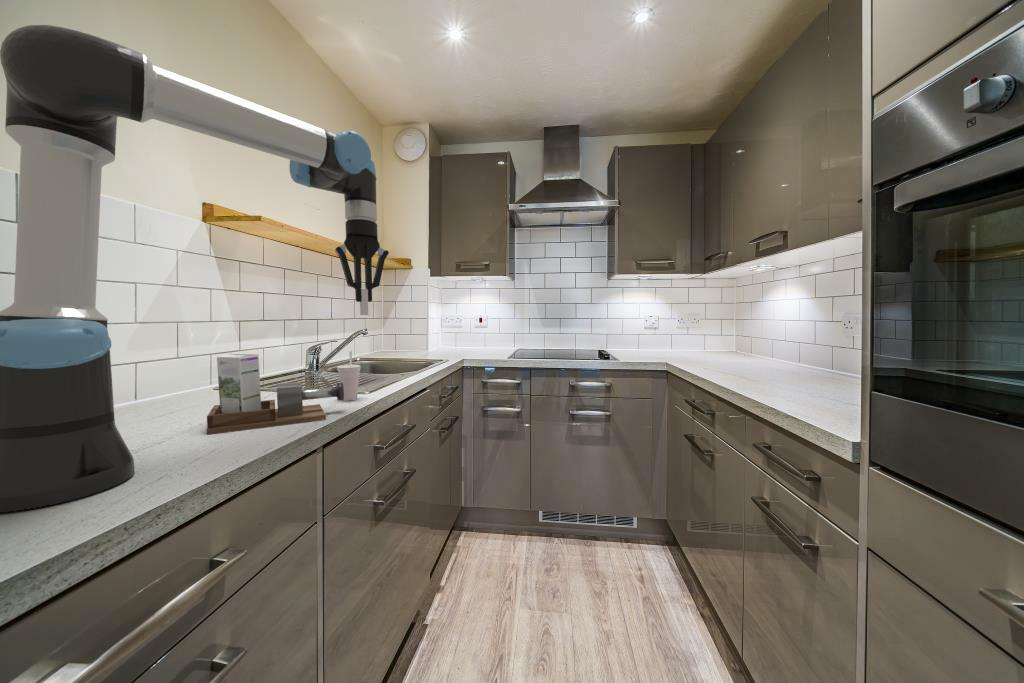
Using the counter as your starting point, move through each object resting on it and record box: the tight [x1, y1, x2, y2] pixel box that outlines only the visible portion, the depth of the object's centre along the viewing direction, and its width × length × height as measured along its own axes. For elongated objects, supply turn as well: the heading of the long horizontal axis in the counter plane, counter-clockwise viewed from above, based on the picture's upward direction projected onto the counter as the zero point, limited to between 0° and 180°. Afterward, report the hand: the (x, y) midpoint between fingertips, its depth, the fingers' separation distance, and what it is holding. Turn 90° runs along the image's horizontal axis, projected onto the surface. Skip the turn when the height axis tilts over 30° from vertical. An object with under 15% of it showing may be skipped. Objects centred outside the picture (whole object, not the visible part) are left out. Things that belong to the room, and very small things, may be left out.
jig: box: [206, 381, 327, 435], centre depth 92 cm, size 14×22×8 cm, turn 121°
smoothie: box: [336, 350, 362, 401], centre depth 114 cm, size 6×6×14 cm
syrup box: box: [216, 353, 262, 414], centre depth 89 cm, size 6×6×14 cm
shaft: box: [302, 382, 344, 401], centre depth 97 cm, size 4×13×4 cm, turn 121°
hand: (364, 314), depth 102 cm, fingers closed
